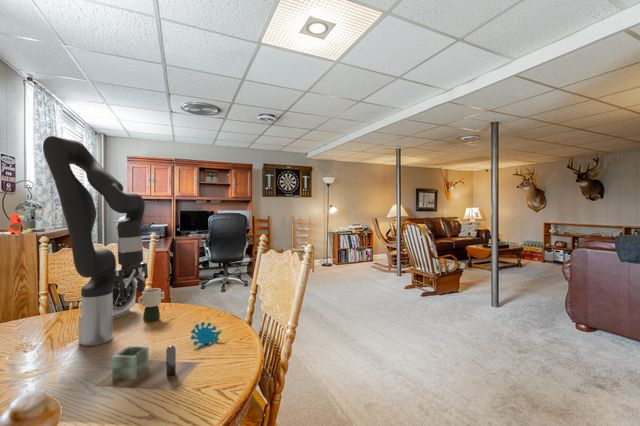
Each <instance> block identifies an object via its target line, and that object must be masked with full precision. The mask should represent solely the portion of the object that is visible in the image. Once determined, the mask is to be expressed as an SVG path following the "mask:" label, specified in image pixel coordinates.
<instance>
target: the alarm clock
mask: <svg viewBox="0 0 640 426" xmlns="http://www.w3.org/2000/svg"><path fill="white" fill-rule="evenodd" d="M124 279H126V278H125V277H124ZM119 283H120V281H118V284H119ZM123 284H125V282H124V283H123ZM127 288H128V298H127V299H121V298H120V289H119V288H114V286H113V320H115V319H118V318H121V317H122V316H125V315H127V314H130V311H131V310H130V309H132V308H133V307H135V305H136V298H137V281H136V279H135V278H133V279H132V280H131V282H129V284H128V286H127Z"/></svg>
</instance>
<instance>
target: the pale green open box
mask: <svg viewBox="0 0 640 426" xmlns="http://www.w3.org/2000/svg"><path fill="white" fill-rule="evenodd" d="M149 349H150V348H149V347H148V346H130V345H129V346H126V347H125V348H123V349H121V350H120V351H119V352H118V353H116V354H113V356H112V357H111V362H112V363H111V365H112V366H111V374H112V378H122V379H135V378H136V377H137V376H138V375H140V374H141V373H142V372H143V371H144V370H146V369H147V368H148V367H149V360H150V358H149V357H150V356H149V355H150V353H149Z"/></svg>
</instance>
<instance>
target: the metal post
mask: <svg viewBox="0 0 640 426" xmlns="http://www.w3.org/2000/svg"><path fill="white" fill-rule="evenodd" d="M176 350H177V349H176V347H175V346H174V345H168V346H167V348H166V351H165V353H166V354H165V355H166V356H165V357H166V358H165V361H166V376H168V377H171V376H174V375H175V374H176V362H177V360H176V356H177V355H176V352H177V351H176Z"/></svg>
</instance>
